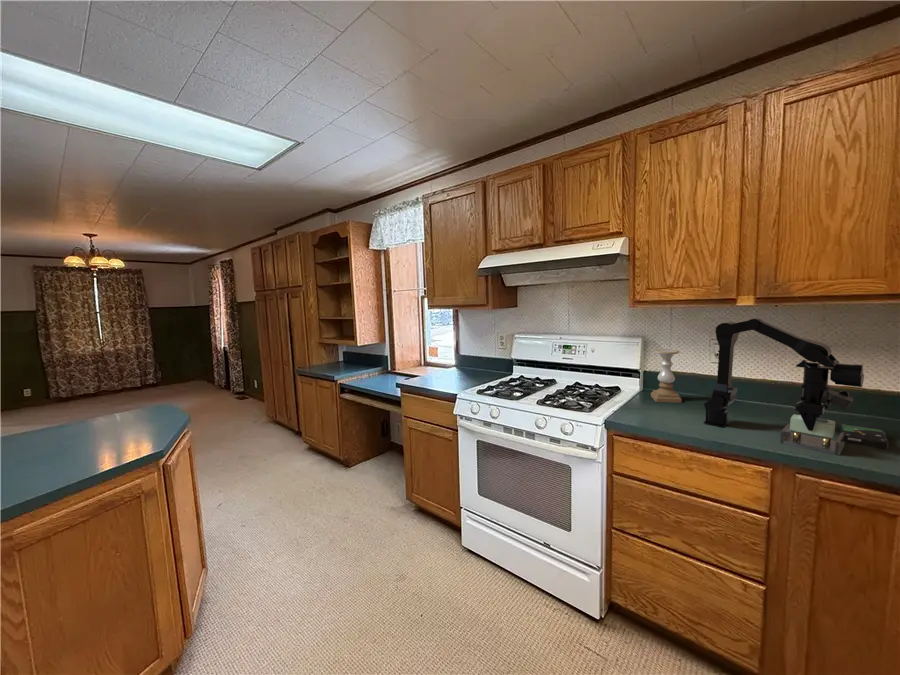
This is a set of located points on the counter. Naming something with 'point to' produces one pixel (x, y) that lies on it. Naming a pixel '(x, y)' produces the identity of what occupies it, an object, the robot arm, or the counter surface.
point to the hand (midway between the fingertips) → (812, 428)
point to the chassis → (812, 441)
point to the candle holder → (666, 379)
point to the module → (820, 428)
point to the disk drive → (865, 436)
